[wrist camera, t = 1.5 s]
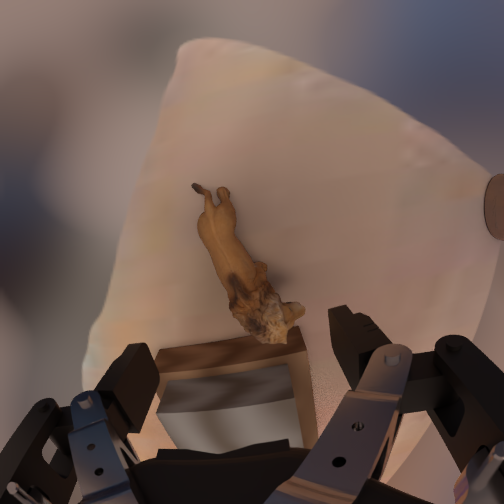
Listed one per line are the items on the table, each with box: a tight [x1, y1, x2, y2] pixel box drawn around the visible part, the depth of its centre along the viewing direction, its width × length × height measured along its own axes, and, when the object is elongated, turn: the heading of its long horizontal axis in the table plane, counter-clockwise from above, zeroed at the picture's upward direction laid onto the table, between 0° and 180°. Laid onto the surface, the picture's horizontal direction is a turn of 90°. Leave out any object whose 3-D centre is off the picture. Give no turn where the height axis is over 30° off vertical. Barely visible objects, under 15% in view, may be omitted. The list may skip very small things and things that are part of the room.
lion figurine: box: [191, 183, 305, 344], centre depth 23 cm, size 15×5×9 cm, turn 34°
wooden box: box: [154, 326, 318, 454], centre depth 27 cm, size 16×18×10 cm
